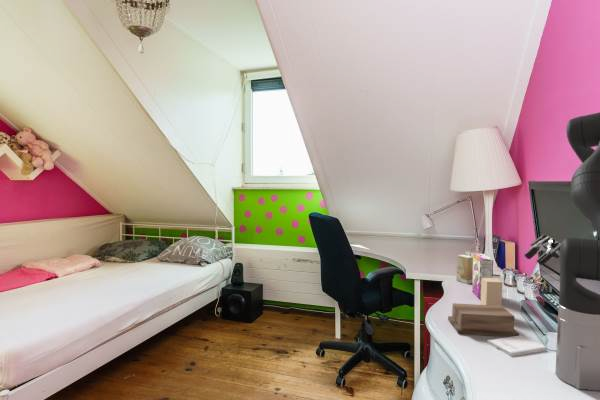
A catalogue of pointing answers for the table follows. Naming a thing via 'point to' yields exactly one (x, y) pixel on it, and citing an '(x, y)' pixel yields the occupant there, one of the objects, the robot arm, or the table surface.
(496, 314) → the podium
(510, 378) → the table surface
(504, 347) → the external hard drive
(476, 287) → the candy bar box
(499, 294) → the tan carton
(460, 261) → the skincare box
